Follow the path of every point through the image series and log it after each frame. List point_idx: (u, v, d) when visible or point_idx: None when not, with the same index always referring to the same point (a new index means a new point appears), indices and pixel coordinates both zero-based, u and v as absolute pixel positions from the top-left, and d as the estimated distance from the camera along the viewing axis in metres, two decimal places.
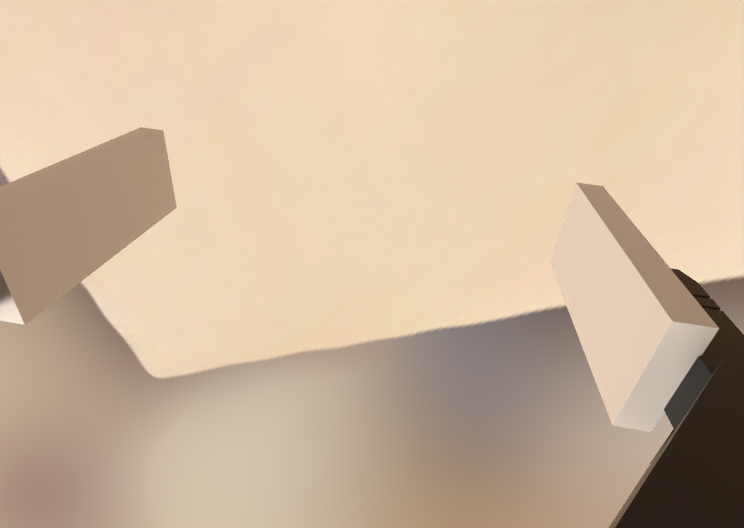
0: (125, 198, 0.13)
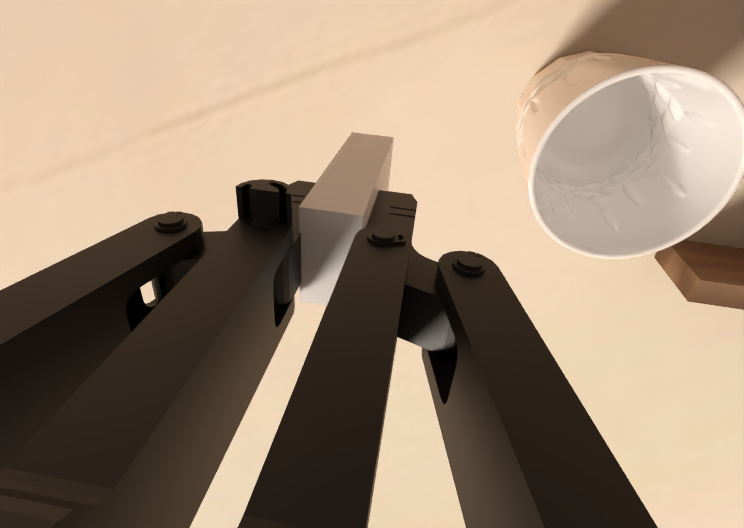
0: None
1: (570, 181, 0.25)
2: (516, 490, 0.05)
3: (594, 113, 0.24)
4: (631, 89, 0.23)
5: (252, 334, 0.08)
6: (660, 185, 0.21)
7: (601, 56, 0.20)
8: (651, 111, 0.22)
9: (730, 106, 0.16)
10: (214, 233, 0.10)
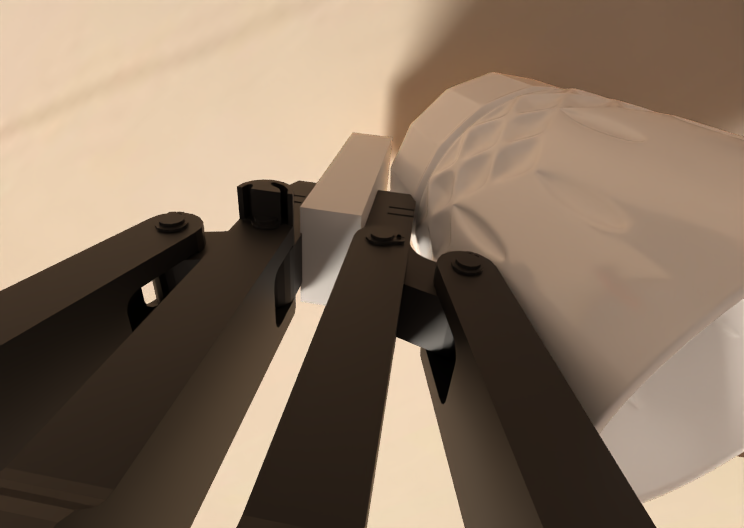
0: None
1: None
2: (515, 490, 0.05)
3: None
4: None
5: (253, 334, 0.08)
6: None
7: (578, 111, 0.10)
8: None
9: None
10: (215, 233, 0.10)
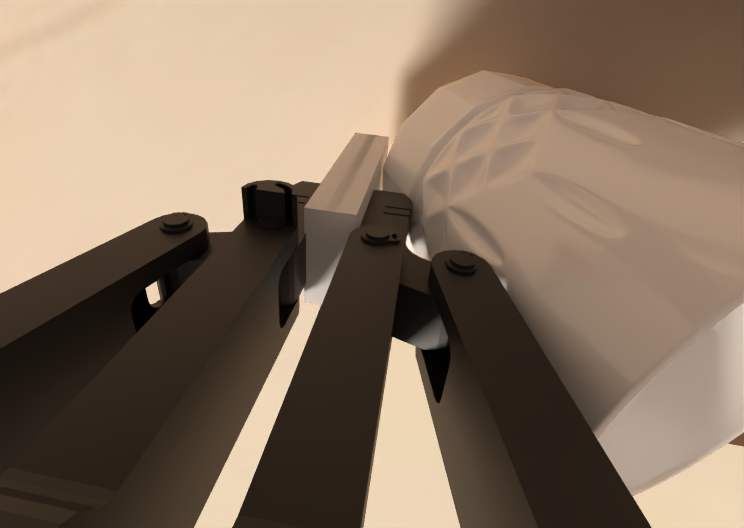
0: None
1: None
2: (509, 488, 0.05)
3: None
4: None
5: (257, 335, 0.08)
6: None
7: (572, 114, 0.10)
8: None
9: None
10: (219, 234, 0.10)
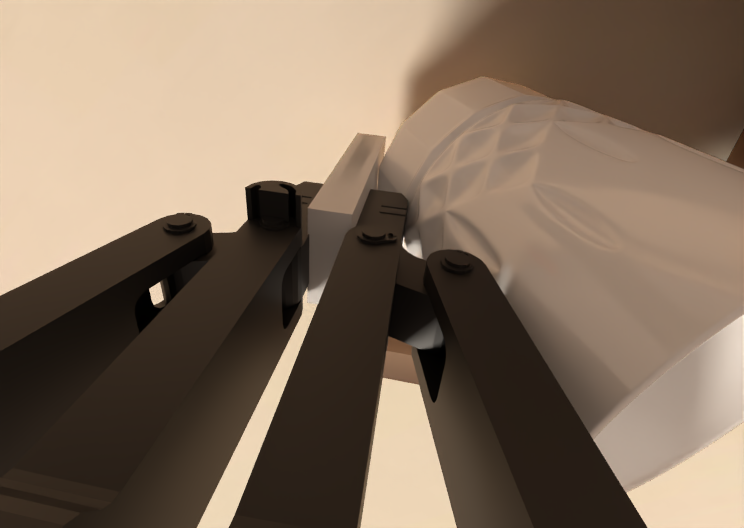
0: None
1: None
2: (505, 487, 0.05)
3: None
4: None
5: (260, 336, 0.08)
6: None
7: (571, 126, 0.10)
8: None
9: None
10: (223, 234, 0.10)
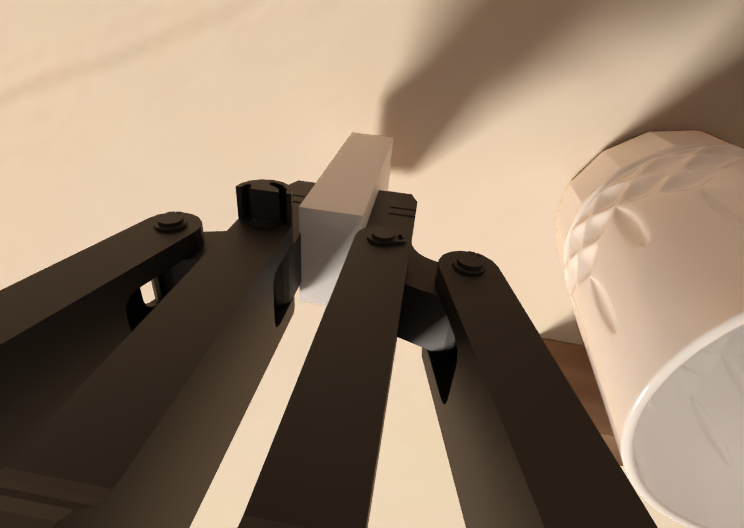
0: None
1: None
2: (516, 489, 0.05)
3: None
4: None
5: (252, 334, 0.08)
6: None
7: None
8: None
9: None
10: (214, 233, 0.10)
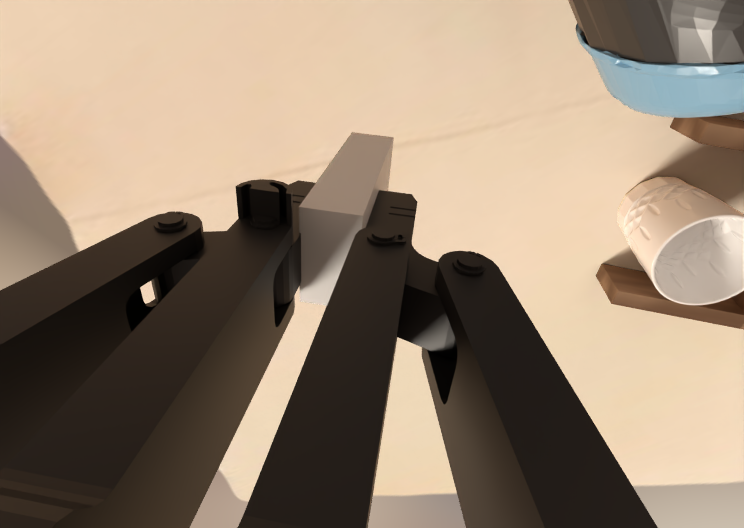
0: None
1: None
2: (517, 490, 0.05)
3: None
4: None
5: (252, 334, 0.08)
6: (708, 267, 0.37)
7: (695, 191, 0.35)
8: (706, 222, 0.38)
9: None
10: (214, 233, 0.10)
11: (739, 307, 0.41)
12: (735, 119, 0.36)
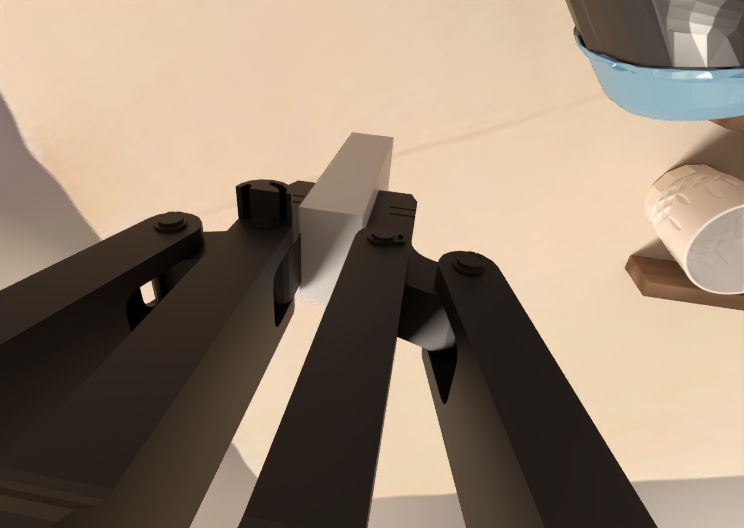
0: None
1: None
2: (517, 490, 0.05)
3: None
4: None
5: (252, 334, 0.08)
6: (743, 254, 0.36)
7: (725, 178, 0.35)
8: (738, 208, 0.38)
9: None
10: (214, 233, 0.10)
11: None
12: None
